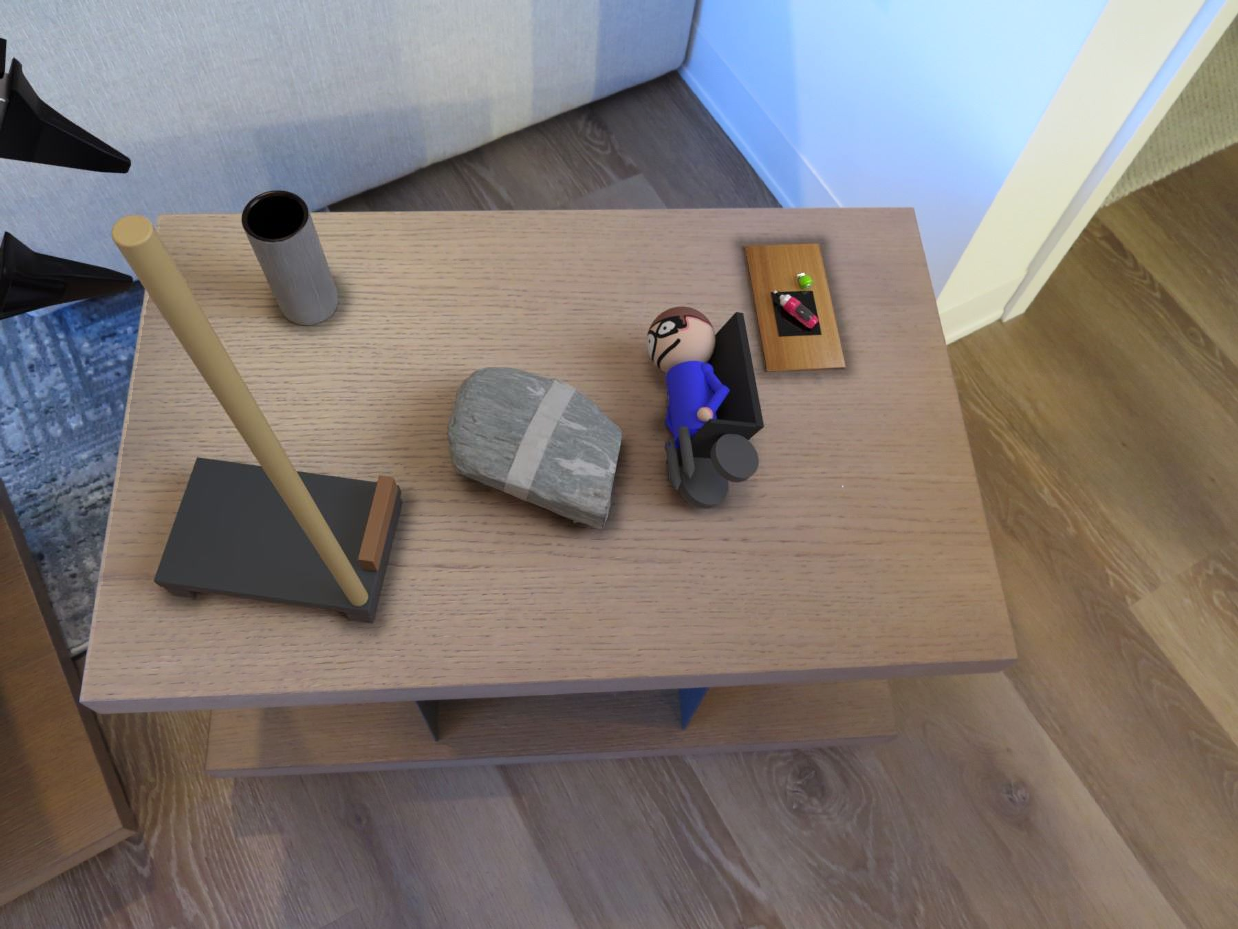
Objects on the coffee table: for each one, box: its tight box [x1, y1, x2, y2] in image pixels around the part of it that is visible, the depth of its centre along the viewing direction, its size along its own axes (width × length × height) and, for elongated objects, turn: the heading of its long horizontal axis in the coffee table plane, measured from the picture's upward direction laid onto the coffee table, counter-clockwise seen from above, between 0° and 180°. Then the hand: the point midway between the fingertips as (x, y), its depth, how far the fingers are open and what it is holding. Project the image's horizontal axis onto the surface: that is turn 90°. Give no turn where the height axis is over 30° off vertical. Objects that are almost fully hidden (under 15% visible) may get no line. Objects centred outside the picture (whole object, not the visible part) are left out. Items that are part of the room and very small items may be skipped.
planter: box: [240, 189, 339, 326], centre depth 70 cm, size 4×4×10 cm
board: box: [744, 243, 847, 373], centre depth 77 cm, size 6×12×2 cm, turn 5°
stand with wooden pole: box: [110, 214, 403, 624], centre depth 48 cm, size 14×9×40 cm, turn 83°
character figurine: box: [646, 306, 765, 510], centre depth 69 cm, size 8×7×15 cm
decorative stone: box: [446, 366, 623, 531], centre depth 68 cm, size 13×10×6 cm
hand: (130, 223), depth 59 cm, fingers open, 9 cm apart
